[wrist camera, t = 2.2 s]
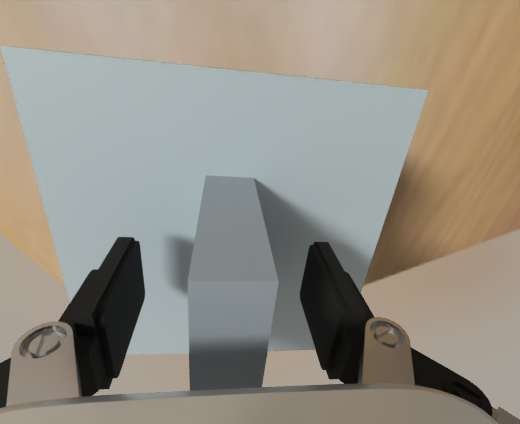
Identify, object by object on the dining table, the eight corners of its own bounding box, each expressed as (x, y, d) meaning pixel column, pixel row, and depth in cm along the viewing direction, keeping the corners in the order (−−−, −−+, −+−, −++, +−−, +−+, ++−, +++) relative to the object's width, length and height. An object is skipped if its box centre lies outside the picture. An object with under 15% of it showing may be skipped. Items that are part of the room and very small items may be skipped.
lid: (398, 85, 13) (635, 121, 6) (330, 320, 20) (395, 482, 12) (39, 48, 11) (-363, 24, 4) (99, 324, 18) (6, 520, 10)
